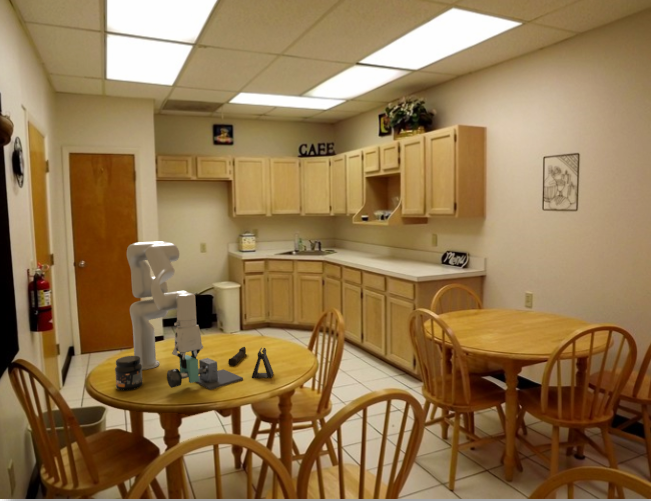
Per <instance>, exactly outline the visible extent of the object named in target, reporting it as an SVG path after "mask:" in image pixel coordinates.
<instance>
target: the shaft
mask: <svg viewBox="0 0 651 501" xmlns="http://www.w3.org/2000/svg"><path fill="white" fill-rule="evenodd" d="M202 373H206V367H202V368H200V367H198V374H199V375H200V374H202ZM187 378H188V379H189V375H188V371H187V372H183V373H180V369H178V368H172V369H169V370H168V371H167V373H166V380H167V383H168V385H169V387H170V388H176V387H179V386H182V381H183V380H184V379H187Z"/></svg>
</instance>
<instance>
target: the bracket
mask: <svg viewBox="0 0 651 501" xmlns="http://www.w3.org/2000/svg"><path fill="white" fill-rule="evenodd" d="M198 367H199V368H202V367H206V373H202V374H199V376H200V379H201V380H203V381H205V382H207V383H209V384H210V383H214V382H217V381H218V371H219V370H218V361H216V360H214V359H211V358H210V357H206V358H201V359H198Z"/></svg>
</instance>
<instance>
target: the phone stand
mask: <svg viewBox="0 0 651 501" xmlns="http://www.w3.org/2000/svg"><path fill="white" fill-rule="evenodd" d="M261 360H262V363H263V365H264V368H265V372H259V369H260V364H261ZM273 375H274V371H273V368H272V365H271V362H270V360H269V358H268V355H267V348H265V347H263V348H262V347H261V348H260V349H259V351H258V352H257V360H256V363H255V366H254V368H253V370H252V375H251V379H272V378H273Z"/></svg>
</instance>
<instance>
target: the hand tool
mask: <svg viewBox="0 0 651 501" xmlns="http://www.w3.org/2000/svg"><path fill="white" fill-rule="evenodd" d="M246 352H247V350H246V347H245V346H243V347H242V346H241V348H239V349H238V352H237V353H236V354H234V355H233V356H232V357H230V358H229V359H228V361H227V364H228V366H229V367H235V366H236V365H237V364H238V362H239V361H241V360H242V359H243V358H245V357H246Z"/></svg>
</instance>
